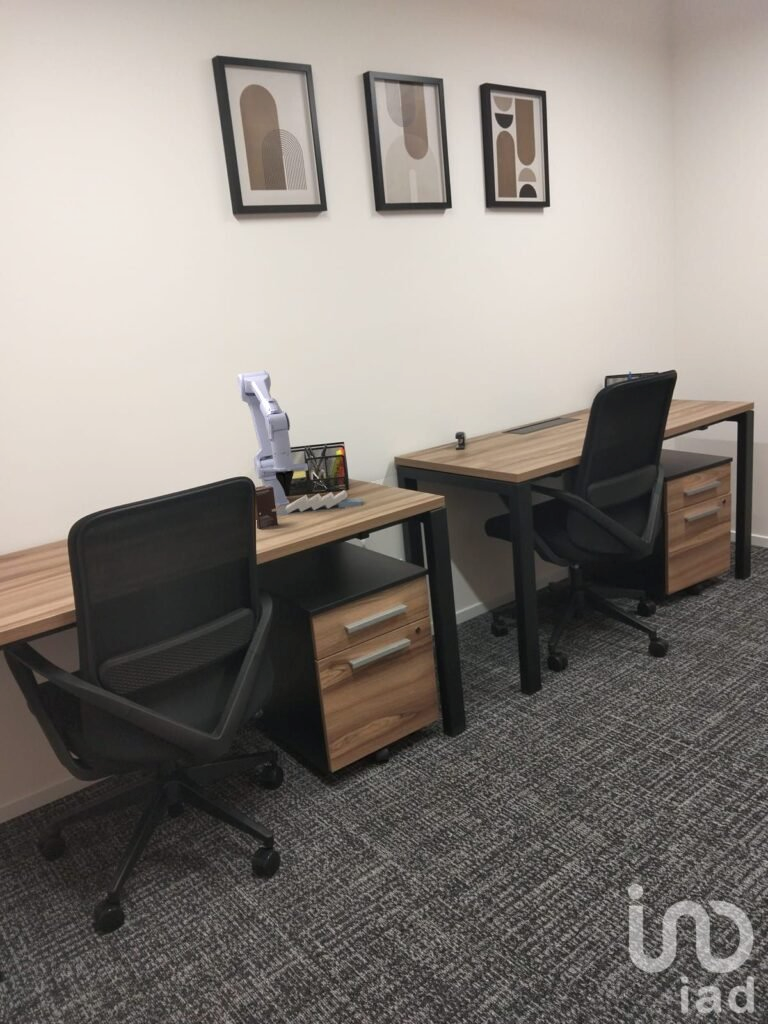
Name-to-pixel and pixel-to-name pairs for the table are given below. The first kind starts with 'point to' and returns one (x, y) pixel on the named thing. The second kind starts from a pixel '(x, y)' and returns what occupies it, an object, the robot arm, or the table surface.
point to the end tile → (350, 502)
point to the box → (265, 507)
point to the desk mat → (283, 511)
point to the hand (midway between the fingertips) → (288, 495)
